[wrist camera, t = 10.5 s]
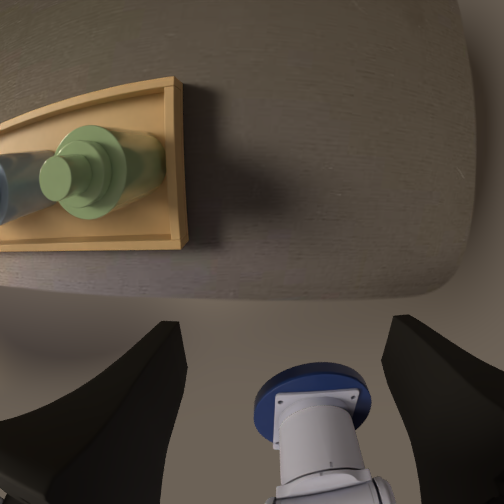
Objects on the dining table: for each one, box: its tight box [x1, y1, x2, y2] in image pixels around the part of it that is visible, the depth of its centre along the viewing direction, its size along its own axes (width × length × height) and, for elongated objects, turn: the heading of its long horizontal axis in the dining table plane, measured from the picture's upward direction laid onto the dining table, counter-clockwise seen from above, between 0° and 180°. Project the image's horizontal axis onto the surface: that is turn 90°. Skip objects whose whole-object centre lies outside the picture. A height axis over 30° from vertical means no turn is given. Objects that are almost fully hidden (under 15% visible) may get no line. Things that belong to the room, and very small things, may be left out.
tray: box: [0, 76, 189, 252], centre depth 17 cm, size 10×22×2 cm, turn 91°
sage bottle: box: [39, 125, 166, 220], centre depth 14 cm, size 4×4×8 cm
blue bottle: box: [0, 150, 57, 226], centre depth 14 cm, size 4×4×8 cm
